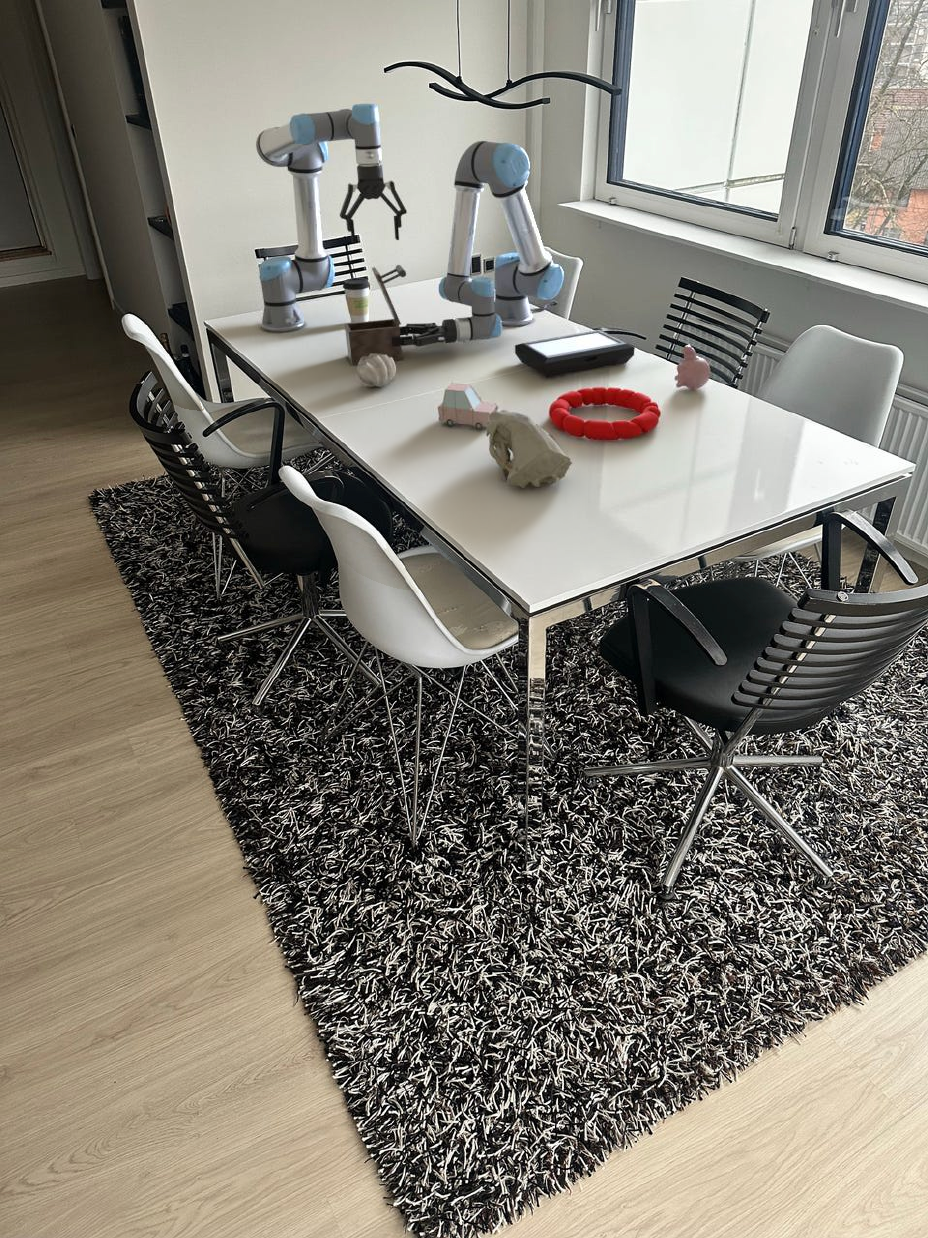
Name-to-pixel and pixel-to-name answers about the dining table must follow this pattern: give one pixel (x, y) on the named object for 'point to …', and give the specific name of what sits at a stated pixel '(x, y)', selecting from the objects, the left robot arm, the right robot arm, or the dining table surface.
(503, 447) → the animal skull
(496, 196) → the right robot arm
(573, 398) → the decorative ring
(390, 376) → the seashell
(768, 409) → the dining table surface
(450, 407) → the toy car
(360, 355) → the chest
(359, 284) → the coffee cup
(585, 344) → the electronic device
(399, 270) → the panel with cylinder handle
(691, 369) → the figurine
